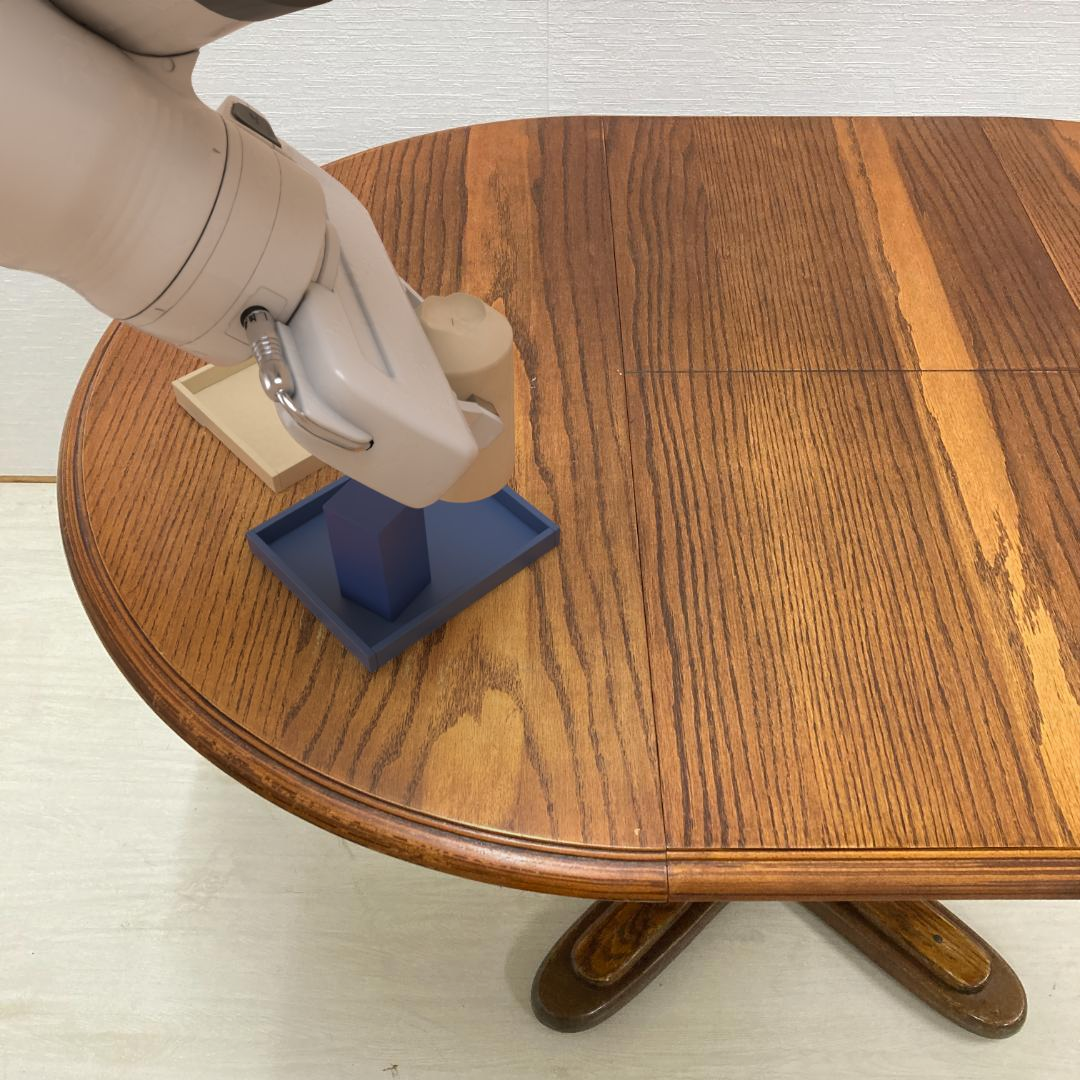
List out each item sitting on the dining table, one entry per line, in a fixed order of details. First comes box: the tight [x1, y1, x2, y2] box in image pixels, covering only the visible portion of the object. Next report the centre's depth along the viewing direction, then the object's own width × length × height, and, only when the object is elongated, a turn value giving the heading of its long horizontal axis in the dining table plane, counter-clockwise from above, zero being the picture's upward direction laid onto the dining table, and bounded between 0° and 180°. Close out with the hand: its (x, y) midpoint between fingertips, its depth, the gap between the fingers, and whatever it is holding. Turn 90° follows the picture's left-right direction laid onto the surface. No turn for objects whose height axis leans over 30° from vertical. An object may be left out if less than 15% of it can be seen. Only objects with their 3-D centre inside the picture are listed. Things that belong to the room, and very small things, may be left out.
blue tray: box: [244, 474, 561, 674], centre depth 70 cm, size 15×13×2 cm
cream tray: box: [171, 356, 328, 494], centre depth 80 cm, size 15×13×2 cm
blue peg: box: [323, 478, 431, 623], centre depth 66 cm, size 4×4×8 cm
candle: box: [415, 291, 516, 503], centre depth 54 cm, size 6×6×10 cm
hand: (468, 384), depth 54 cm, fingers closed on candle, 5 cm apart
